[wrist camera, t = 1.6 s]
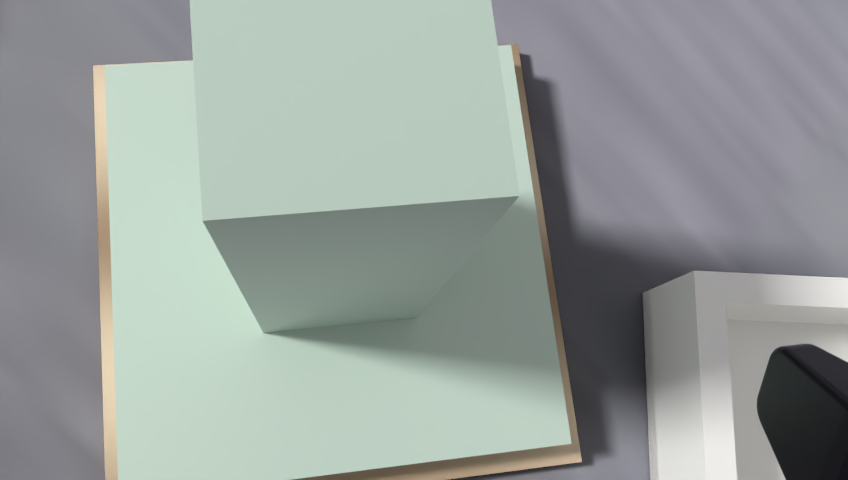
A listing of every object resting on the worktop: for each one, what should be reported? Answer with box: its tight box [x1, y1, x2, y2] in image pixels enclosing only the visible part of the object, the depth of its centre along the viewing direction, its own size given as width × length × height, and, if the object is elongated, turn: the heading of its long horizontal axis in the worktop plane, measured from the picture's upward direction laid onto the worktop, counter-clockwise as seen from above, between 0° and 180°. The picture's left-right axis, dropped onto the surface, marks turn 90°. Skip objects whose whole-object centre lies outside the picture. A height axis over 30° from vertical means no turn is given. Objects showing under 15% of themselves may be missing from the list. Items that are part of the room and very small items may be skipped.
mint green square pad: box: [93, 44, 582, 480], centre depth 20 cm, size 11×11×1 cm
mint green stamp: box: [105, 0, 572, 480], centre depth 15 cm, size 10×10×11 cm
